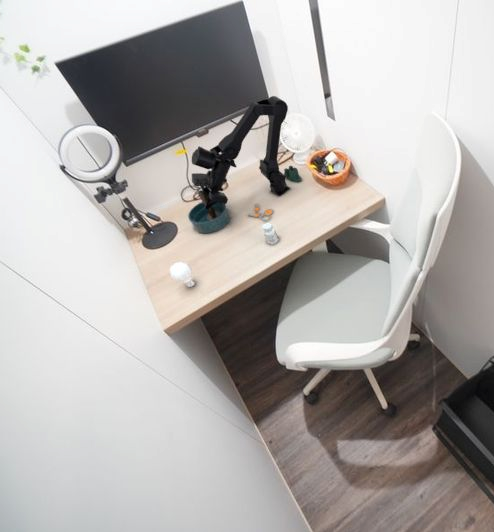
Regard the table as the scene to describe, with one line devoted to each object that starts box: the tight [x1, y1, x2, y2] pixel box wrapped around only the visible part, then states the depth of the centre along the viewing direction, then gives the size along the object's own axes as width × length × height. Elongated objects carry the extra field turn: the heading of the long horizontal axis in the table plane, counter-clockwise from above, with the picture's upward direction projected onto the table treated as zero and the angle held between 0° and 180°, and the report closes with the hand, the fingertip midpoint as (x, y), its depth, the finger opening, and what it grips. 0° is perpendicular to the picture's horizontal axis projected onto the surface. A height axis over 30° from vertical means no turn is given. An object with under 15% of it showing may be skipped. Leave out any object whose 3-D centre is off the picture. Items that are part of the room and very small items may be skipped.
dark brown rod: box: [197, 189, 221, 221], centre depth 130 cm, size 6×6×15 cm
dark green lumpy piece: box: [283, 165, 303, 183], centre depth 149 cm, size 11×4×5 cm, turn 48°
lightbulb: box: [169, 261, 196, 288], centre depth 109 cm, size 6×6×11 cm
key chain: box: [248, 203, 273, 222], centre depth 135 cm, size 13×7×1 cm, turn 54°
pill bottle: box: [262, 222, 279, 245], centre depth 121 cm, size 4×4×8 cm
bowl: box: [188, 201, 231, 234], centre depth 133 cm, size 15×15×6 cm
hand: (205, 207), depth 129 cm, fingers closed on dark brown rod, 2 cm apart
